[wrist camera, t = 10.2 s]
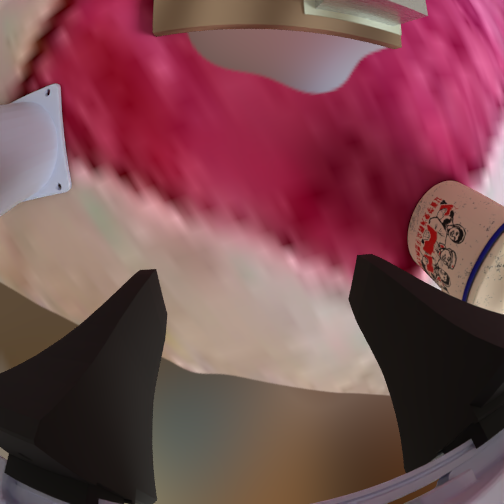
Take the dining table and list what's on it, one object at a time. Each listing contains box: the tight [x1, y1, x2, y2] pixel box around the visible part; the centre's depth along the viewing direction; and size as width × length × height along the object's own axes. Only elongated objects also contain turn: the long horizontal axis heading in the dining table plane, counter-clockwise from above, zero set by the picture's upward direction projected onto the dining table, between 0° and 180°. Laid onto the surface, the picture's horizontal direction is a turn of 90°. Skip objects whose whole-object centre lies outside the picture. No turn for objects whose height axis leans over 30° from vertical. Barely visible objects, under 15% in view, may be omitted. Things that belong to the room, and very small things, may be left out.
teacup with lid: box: [408, 181, 504, 314], centre depth 17 cm, size 12×9×12 cm
